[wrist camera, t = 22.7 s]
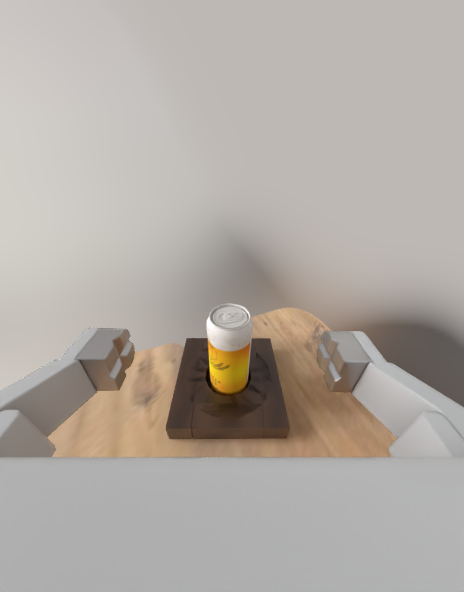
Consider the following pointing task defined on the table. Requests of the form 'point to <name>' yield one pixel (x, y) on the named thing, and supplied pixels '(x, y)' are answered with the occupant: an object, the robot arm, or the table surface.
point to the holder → (227, 398)
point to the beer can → (229, 348)
